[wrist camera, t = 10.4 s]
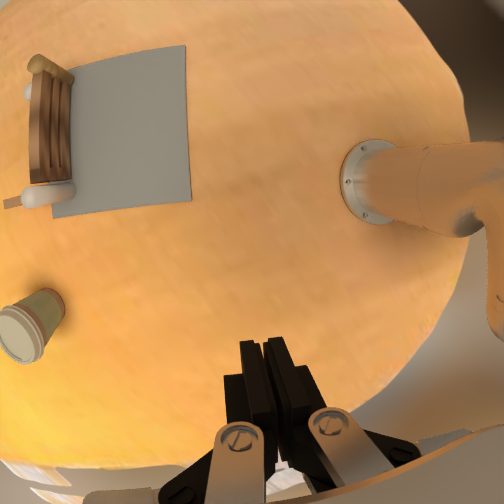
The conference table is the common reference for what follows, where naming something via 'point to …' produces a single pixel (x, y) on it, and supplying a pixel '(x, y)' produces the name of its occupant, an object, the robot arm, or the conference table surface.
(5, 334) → the coffee cup
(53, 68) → the gate
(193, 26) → the conference table surface
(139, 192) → the grey board
